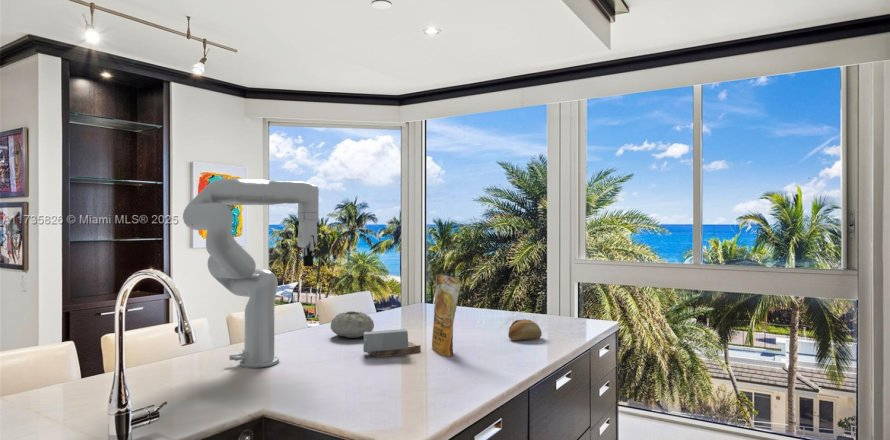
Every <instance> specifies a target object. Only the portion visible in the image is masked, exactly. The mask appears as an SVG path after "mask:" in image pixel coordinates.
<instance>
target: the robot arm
mask: <svg viewBox="0 0 890 440" xmlns="http://www.w3.org/2000/svg"><path fill="white" fill-rule="evenodd" d="M319 192H320V191H319V187H318V185H316V184H315V185H314V184H311V183H310V182H307V181H306V182H305V181H283V180H281V181H280V180H270V179H269V180H268V179H254V178H253V179H251V178H223V179H221V178H220V179H214V180H212V181H211V182H210V183H209V184H207V185H206V186H204V188H203V189H202V190H201V191H200V192H199V193H198V194H197V195H196V196H195V197H194V198H193V199H192V200H191V201H190V202H189V203H188V204H187V205H186V206H185V209H184V211H183V213H182V220H183V223H184V224H185V226H186V227H188V228H189V229H192V230H195V231H206V233H205V234H206V236H205V248H206V251H207V253H208V254H209V257H208V258H207V259H208V260H207V269H208V272H209V273H210V275H211V276H212V277H213V278H214V279H215V280H216V281H217V282H218V283H219V284H221V285H222V286H223V287H224V288H225V289H227V291H229V292H230V293H231V294H233V295H235V296H238V297H248V298H249V299H248V301H247V303H246V305H245V308H244V349H242V350H241V352H239V353H232V354H229V355H228V359H229V361H235V362H236V361H239V362H238V363H239V366H240V367H243V368H248V369H249V368H250V369H252V368H253V369H256V368H258V369H260V368H267V367H271V366H274V365H277V364H278V363H279V362H280V357H278V356H276V355H275V308H276V307H275V305H276V295H277V292H278V286H279V284H278V283H279V282H278V281H279V280H278V278H277V276H276V274H275V273H274V272H272V271H270V270H267V269H262V268H261V269H260V268H257V265H256V261H255V259H254V258H253V256H251V254H249V252H248V251H247V250H246V249H244V247H242V246H241V244H239V243H238V241H237V240H236V239H235V237H234V236H233V231H232V230H233V229H232V228H233V223H234V222H233V221H234V216H233V211H232V210H231V208H230V207H229V206H230V205H232V206H244V205H245V206H264V205H265V206H268V205H270V206H273V205H280V204H289V205H290V204H295V205H296V204H297V222H298V232H297V246H298V248H302V253H303V256H302V257H303V258H302V263H303V264H302V265H303V267H313V265H314V251H315V248H316V247H317V246H318V226H317V225H318V223H317V222H319V218H320V217H319V216H320V215H319V212H320V211H319V209H320V208H319V207H320V206H319V205H320V204H319V203H320V202H319V199H320V198H319V196H320V195H319Z"/></svg>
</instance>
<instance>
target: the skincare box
mask: <svg viewBox="0 0 890 440" xmlns="http://www.w3.org/2000/svg"><path fill="white" fill-rule="evenodd" d="M408 335H409V333H408V330H407V329H406V328H402V329H401V328H400V329H399V328H398V329H386V330H375V331H373V330H372V332H364V336H363V349H362V351H363V353H369V352H374V351H386V350H398V349H408V342H409V336H408Z"/></svg>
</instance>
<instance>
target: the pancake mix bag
mask: <svg viewBox="0 0 890 440" xmlns="http://www.w3.org/2000/svg"><path fill="white" fill-rule="evenodd" d="M434 276H435V293H434V307H433V308H434V309H433V314H434V315H433V324H432V325H433V327H432V338H431V339H432V340H431V349H432V350H433V351H434V352H435V353H438V354H439V355H440V356H443V357H449V358H450V357H453V356H454V349H453V347H454V342H453V338H454V323H455V316H456V312H457V311H456V310H457V305H458V300H459V296H460V293H461V289H462V280H461V279H460V278H458V277H453V276H450V275H447V274H440V273H437V274H435V275H434Z"/></svg>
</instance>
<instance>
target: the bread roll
mask: <svg viewBox="0 0 890 440" xmlns="http://www.w3.org/2000/svg"><path fill="white" fill-rule="evenodd" d="M507 334H508V335H507V336H508V338H509V339H510V340H512V341H520V340H521V341H523V340H539V339H540V338H541V337H542V330H541V327H540V326H539V324H538V323H536V322H535V321H533V320H531V319H523V318H522V319H517V320H515V321H513V322H512V324H511V325H510V327H509V328H508V333H507Z"/></svg>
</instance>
